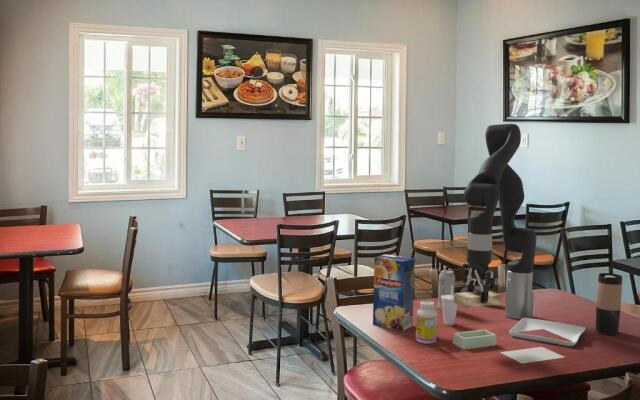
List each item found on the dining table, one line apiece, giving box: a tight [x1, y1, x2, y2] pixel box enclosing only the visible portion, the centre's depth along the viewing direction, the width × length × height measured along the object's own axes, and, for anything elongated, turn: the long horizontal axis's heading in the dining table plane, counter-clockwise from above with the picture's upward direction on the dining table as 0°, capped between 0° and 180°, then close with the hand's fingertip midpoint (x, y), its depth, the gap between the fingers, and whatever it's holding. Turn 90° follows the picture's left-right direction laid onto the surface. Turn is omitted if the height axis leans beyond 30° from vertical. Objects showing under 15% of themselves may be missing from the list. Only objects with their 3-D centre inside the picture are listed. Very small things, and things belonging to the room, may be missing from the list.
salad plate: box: [508, 317, 587, 347], centre depth 215 cm, size 21×21×3 cm
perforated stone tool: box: [459, 285, 498, 294], centre depth 257 cm, size 15×5×7 cm, turn 50°
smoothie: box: [441, 285, 459, 326], centre depth 228 cm, size 6×6×14 cm
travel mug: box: [595, 272, 623, 336], centre depth 221 cm, size 8×8×20 cm
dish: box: [452, 329, 497, 350], centre depth 202 cm, size 12×6×4 cm, turn 112°
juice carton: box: [372, 253, 416, 331], centre depth 224 cm, size 12×8×24 cm, turn 56°
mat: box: [500, 346, 565, 364], centre depth 194 cm, size 16×10×1 cm, turn 112°
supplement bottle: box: [415, 300, 438, 345], centre depth 208 cm, size 7×7×13 cm
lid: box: [454, 290, 502, 309], centre depth 201 cm, size 13×6×4 cm, turn 112°
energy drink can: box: [437, 269, 456, 312], centre depth 246 cm, size 6×6×15 cm
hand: (477, 299), depth 201 cm, fingers closed on lid, 6 cm apart
